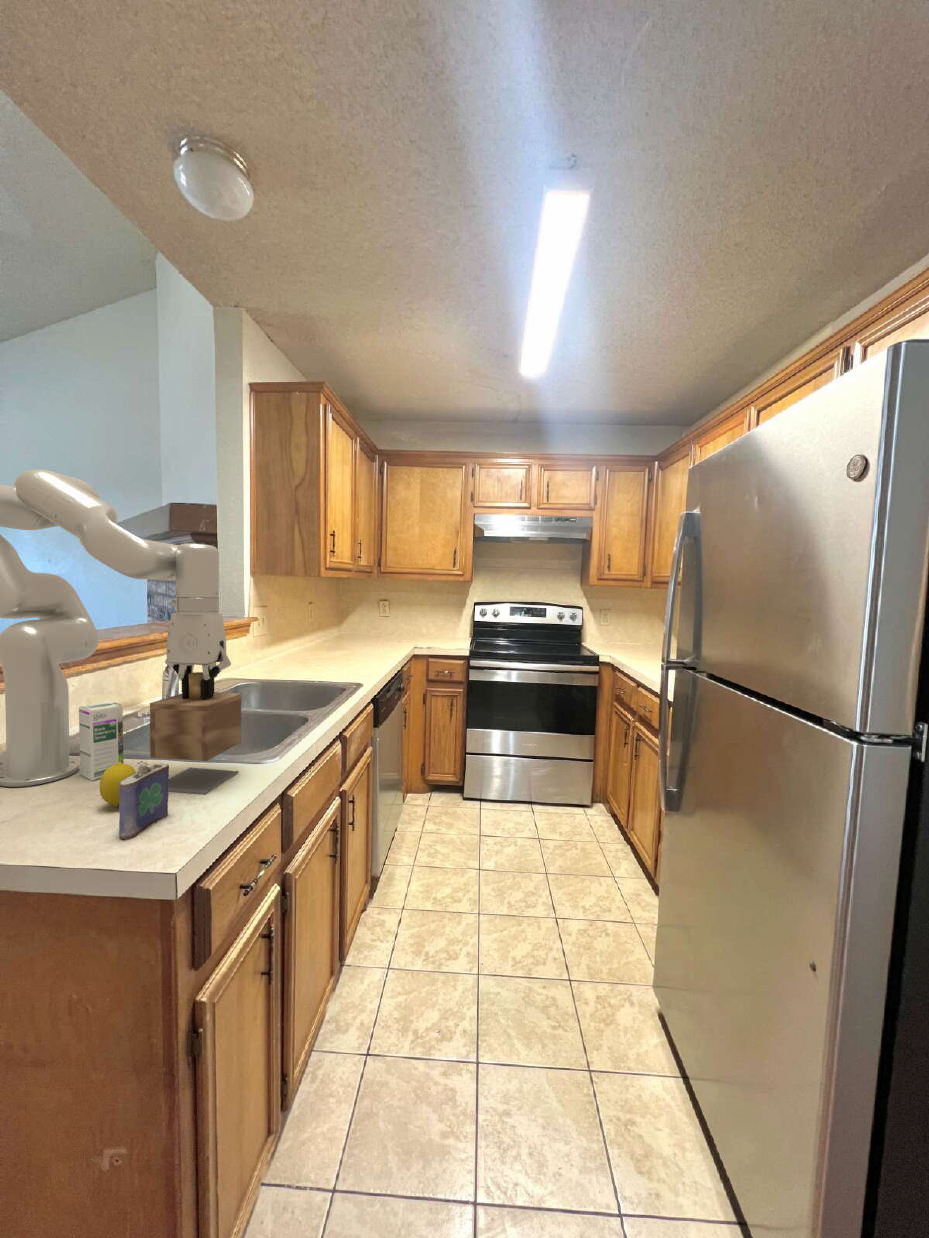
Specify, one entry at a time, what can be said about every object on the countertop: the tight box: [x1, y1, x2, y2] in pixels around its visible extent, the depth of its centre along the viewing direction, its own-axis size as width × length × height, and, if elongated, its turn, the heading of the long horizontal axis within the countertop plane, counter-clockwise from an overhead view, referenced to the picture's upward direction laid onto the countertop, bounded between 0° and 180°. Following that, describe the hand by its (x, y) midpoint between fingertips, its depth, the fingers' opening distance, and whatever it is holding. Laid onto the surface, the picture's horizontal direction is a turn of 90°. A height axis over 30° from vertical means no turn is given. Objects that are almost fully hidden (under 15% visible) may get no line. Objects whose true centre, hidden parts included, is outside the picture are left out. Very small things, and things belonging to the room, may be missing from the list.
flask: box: [118, 760, 170, 841], centre depth 78 cm, size 9×3×11 cm, turn 173°
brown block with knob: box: [149, 671, 242, 762], centre depth 96 cm, size 12×12×16 cm
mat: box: [168, 767, 239, 796], centre depth 97 cm, size 11×11×1 cm
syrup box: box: [78, 700, 124, 782], centre depth 98 cm, size 6×6×14 cm
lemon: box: [99, 762, 137, 807], centre depth 84 cm, size 6×6×8 cm
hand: (198, 696), depth 96 cm, fingers closed on brown block with knob, 3 cm apart
